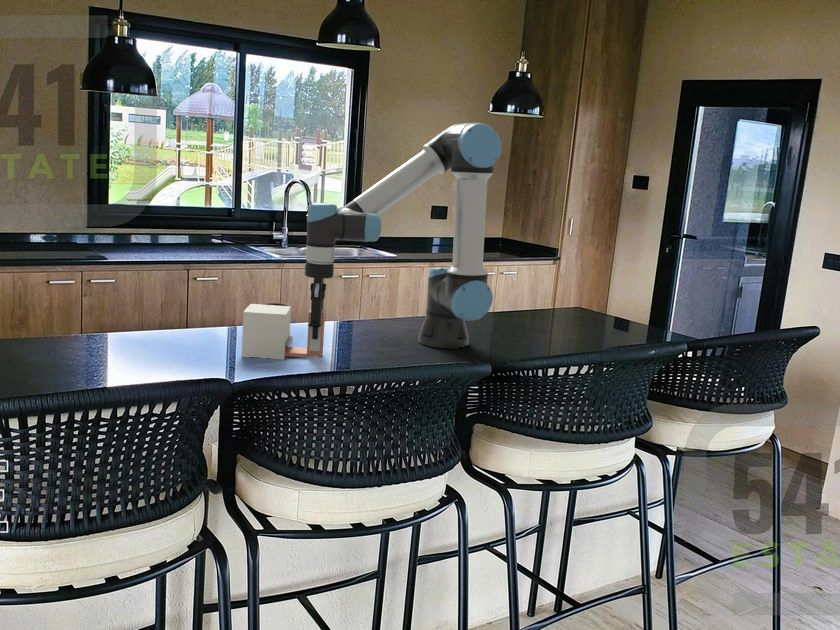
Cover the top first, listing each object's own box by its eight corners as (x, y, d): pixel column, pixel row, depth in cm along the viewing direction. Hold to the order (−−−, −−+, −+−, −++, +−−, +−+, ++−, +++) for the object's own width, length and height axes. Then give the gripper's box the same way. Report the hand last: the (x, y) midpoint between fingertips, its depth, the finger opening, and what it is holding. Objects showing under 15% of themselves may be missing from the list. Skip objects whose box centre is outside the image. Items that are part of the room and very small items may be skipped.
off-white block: (292, 349, 233) (294, 306, 230) (287, 359, 221) (289, 314, 219) (248, 346, 232) (250, 303, 230) (241, 357, 220) (243, 311, 218)
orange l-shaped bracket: (323, 352, 230) (325, 309, 228) (321, 358, 224) (323, 314, 221) (255, 348, 229) (256, 304, 227) (251, 354, 223) (252, 309, 220)
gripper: (308, 257, 231) (304, 340, 235) (302, 265, 214) (297, 355, 218) (335, 259, 231) (331, 342, 235) (332, 267, 214) (327, 356, 218)
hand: (315, 348), depth 227 cm, fingers closed on orange l-shaped bracket, 4 cm apart
